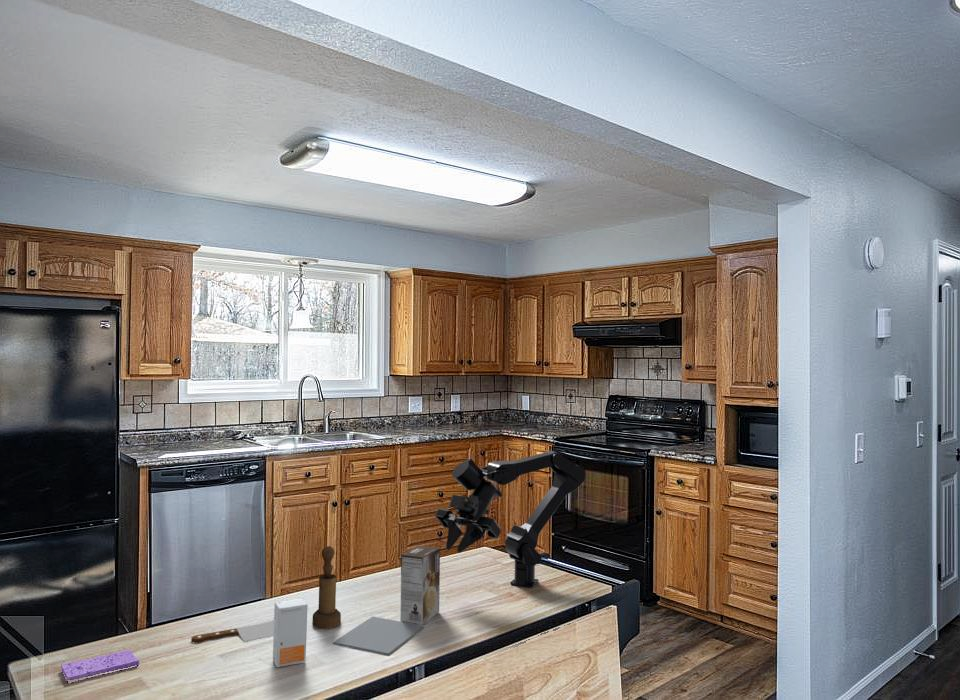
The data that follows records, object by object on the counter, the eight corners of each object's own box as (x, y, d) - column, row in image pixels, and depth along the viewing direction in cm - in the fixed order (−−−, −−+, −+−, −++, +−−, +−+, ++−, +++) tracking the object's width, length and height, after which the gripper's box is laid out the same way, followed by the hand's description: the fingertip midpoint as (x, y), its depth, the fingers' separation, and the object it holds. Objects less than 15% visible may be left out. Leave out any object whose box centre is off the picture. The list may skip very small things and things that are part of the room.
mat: (372, 618, 164) (372, 616, 164) (424, 627, 158) (424, 625, 158) (332, 643, 148) (333, 641, 148) (388, 655, 143) (388, 653, 143)
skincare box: (276, 668, 136) (277, 608, 136) (272, 660, 140) (273, 601, 140) (306, 662, 139) (308, 604, 139) (302, 654, 143) (303, 597, 143)
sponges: (60, 673, 134) (61, 664, 134) (130, 656, 142) (131, 647, 142) (67, 687, 128) (67, 677, 128) (139, 668, 136) (139, 659, 136)
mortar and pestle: (346, 621, 161) (347, 545, 162) (329, 631, 155) (331, 552, 156) (323, 616, 164) (325, 542, 164) (306, 625, 158) (308, 548, 159)
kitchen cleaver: (197, 651, 142) (189, 632, 151) (197, 656, 143) (189, 636, 151) (310, 630, 155) (297, 613, 164) (310, 634, 155) (297, 617, 164)
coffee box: (416, 608, 170) (418, 544, 171) (439, 612, 168) (441, 547, 168) (399, 621, 162) (400, 554, 162) (423, 625, 159) (424, 557, 160)
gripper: (439, 478, 185) (411, 526, 176) (494, 487, 174) (467, 538, 165) (457, 503, 191) (431, 550, 182) (512, 512, 180) (486, 564, 171)
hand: (452, 550), depth 175 cm, fingers open, 3 cm apart
